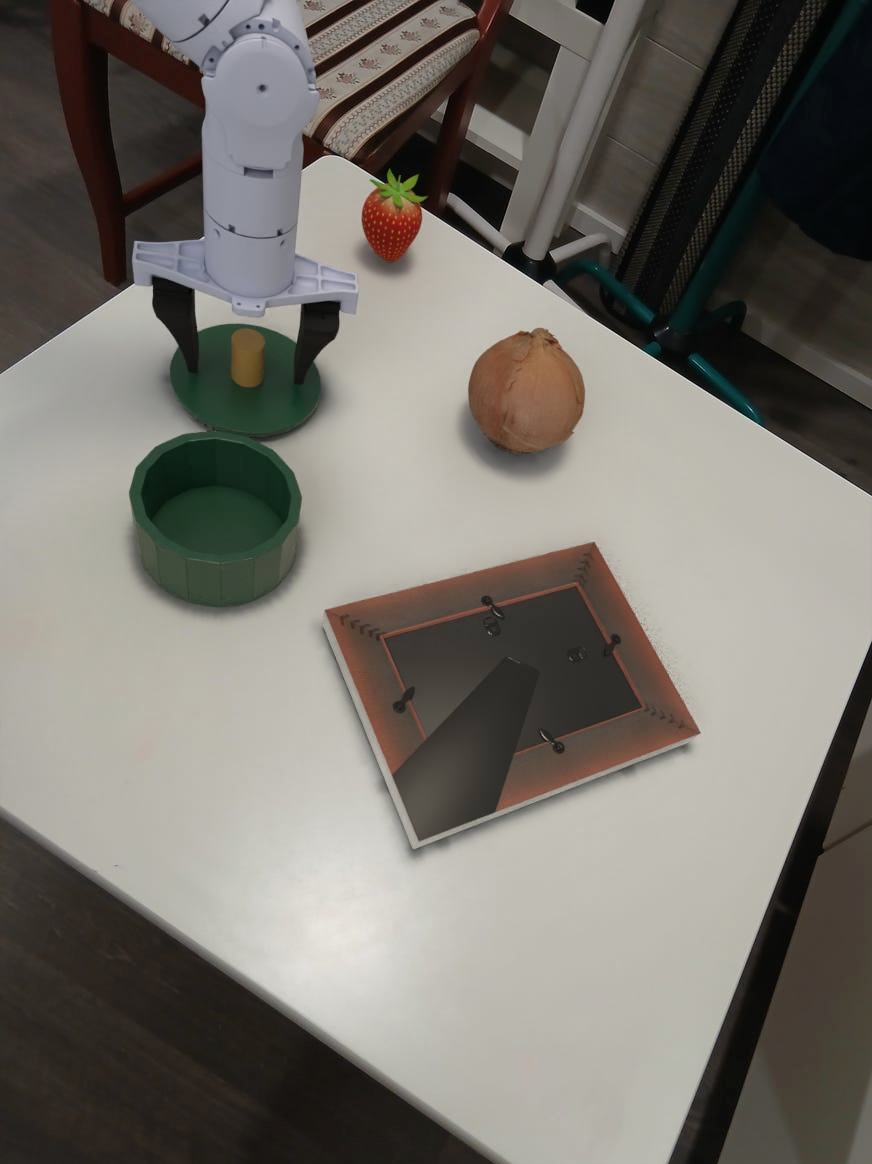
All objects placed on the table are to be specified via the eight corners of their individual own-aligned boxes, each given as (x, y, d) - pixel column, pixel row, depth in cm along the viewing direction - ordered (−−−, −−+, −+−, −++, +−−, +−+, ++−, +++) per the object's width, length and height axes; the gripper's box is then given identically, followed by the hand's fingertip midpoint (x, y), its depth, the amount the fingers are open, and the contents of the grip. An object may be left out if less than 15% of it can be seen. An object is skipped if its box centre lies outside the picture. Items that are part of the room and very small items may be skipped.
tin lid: (139, 395, 62) (133, 347, 58) (222, 313, 68) (222, 264, 64) (273, 466, 63) (276, 423, 59) (345, 378, 69) (352, 333, 65)
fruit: (404, 285, 76) (422, 205, 69) (349, 265, 75) (361, 182, 68) (418, 250, 78) (437, 169, 72) (365, 230, 78) (378, 147, 71)
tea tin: (105, 559, 56) (94, 510, 51) (194, 459, 61) (192, 407, 57) (244, 632, 56) (246, 590, 51) (321, 526, 61) (329, 479, 57)
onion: (488, 421, 75) (513, 304, 69) (584, 457, 72) (618, 339, 66) (435, 446, 67) (459, 318, 62) (540, 488, 64) (575, 357, 59)
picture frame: (411, 852, 52) (686, 745, 60) (419, 841, 50) (702, 732, 58) (320, 625, 57) (583, 558, 66) (324, 607, 55) (595, 539, 64)
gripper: (120, 231, 49) (140, 398, 60) (370, 268, 53) (344, 418, 64) (130, 155, 52) (147, 327, 63) (365, 196, 56) (341, 351, 67)
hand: (246, 369), depth 64 cm, fingers open, 7 cm apart
